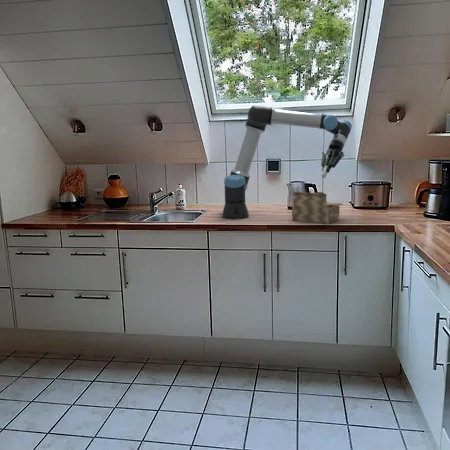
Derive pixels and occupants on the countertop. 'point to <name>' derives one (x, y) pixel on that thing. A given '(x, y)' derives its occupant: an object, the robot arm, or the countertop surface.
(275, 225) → the countertop surface
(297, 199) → the flap
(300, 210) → the carton
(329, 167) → the robot arm
